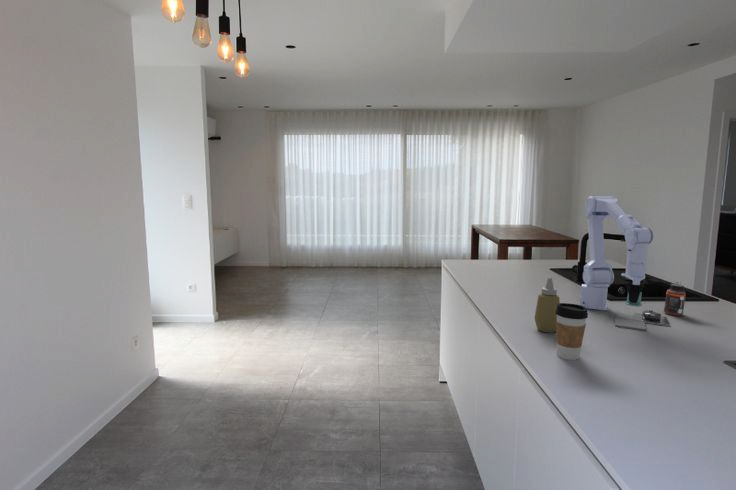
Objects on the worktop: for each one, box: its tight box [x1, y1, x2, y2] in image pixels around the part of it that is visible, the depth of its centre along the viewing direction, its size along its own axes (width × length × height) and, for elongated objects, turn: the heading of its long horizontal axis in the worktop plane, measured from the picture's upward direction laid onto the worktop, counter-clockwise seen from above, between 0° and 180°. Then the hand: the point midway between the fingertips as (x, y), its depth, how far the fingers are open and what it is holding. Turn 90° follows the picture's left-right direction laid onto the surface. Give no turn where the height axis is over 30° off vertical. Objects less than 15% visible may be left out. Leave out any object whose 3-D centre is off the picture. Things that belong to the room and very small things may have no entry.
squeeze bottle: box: [534, 277, 561, 333], centre depth 143 cm, size 8×8×18 cm
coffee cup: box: [555, 302, 589, 361], centre depth 123 cm, size 8×8×15 cm
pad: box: [614, 317, 647, 332], centre depth 150 cm, size 9×9×1 cm
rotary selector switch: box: [633, 309, 670, 327], centre depth 155 cm, size 10×10×3 cm
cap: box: [625, 291, 643, 308], centre depth 149 cm, size 5×5×5 cm
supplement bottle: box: [663, 283, 687, 317], centre depth 162 cm, size 6×6×11 cm
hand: (632, 300), depth 149 cm, fingers closed on cap, 4 cm apart
